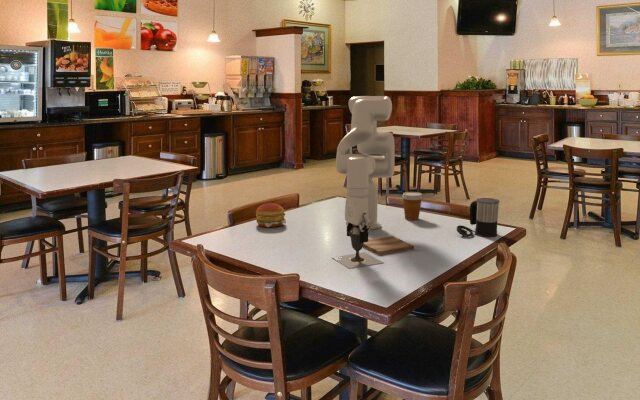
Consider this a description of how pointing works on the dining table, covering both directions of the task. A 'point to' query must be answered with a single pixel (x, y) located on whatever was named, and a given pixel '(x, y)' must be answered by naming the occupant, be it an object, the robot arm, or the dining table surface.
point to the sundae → (356, 242)
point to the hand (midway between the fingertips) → (357, 238)
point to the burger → (270, 215)
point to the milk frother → (482, 218)
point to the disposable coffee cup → (412, 205)
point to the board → (387, 245)
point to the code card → (351, 264)
